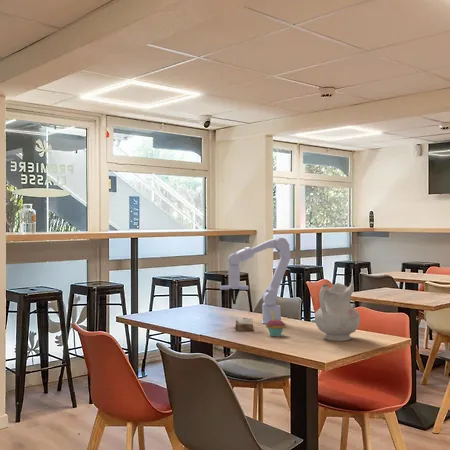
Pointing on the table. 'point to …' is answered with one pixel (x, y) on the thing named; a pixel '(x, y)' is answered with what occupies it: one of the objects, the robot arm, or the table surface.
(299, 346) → the table surface
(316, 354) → the table surface
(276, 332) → the cupcake
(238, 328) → the holder
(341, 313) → the ceramic pitcher
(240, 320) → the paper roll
